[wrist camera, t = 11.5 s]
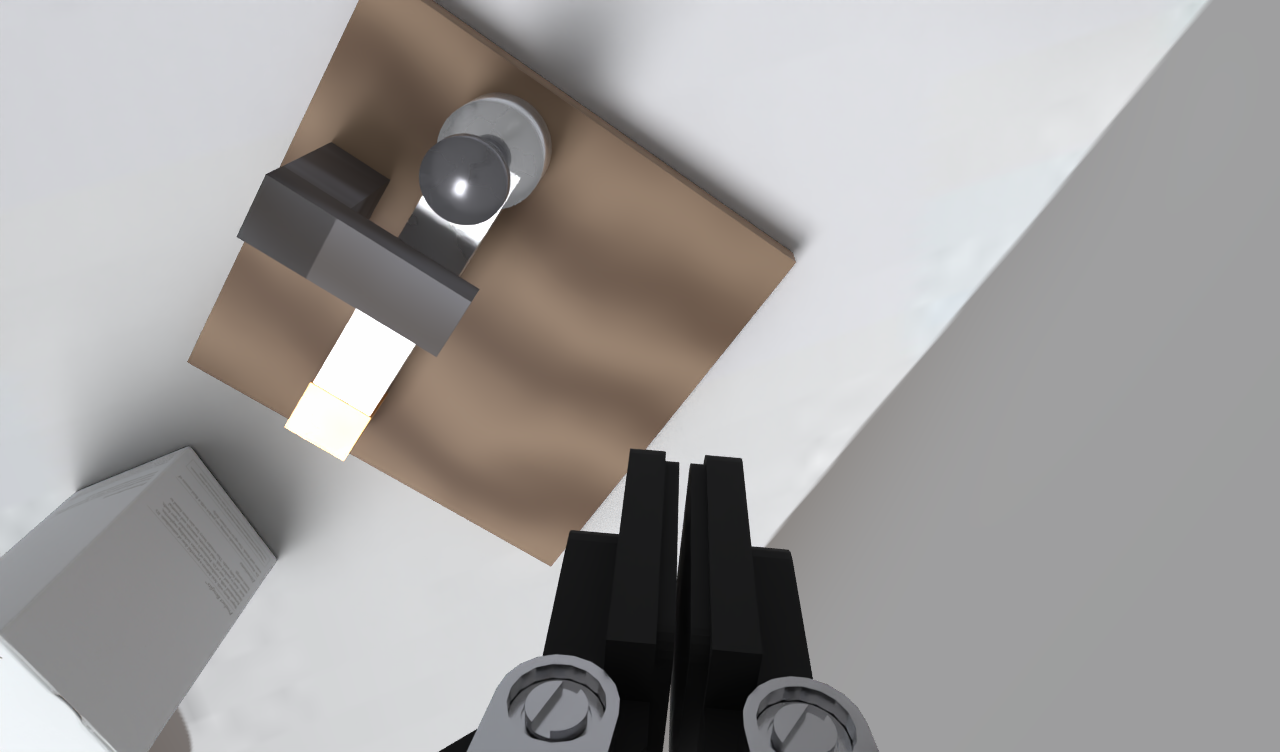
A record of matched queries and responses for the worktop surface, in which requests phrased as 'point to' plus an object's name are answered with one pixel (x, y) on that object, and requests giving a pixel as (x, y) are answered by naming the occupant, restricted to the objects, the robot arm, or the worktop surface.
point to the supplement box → (121, 607)
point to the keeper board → (485, 284)
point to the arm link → (429, 253)
